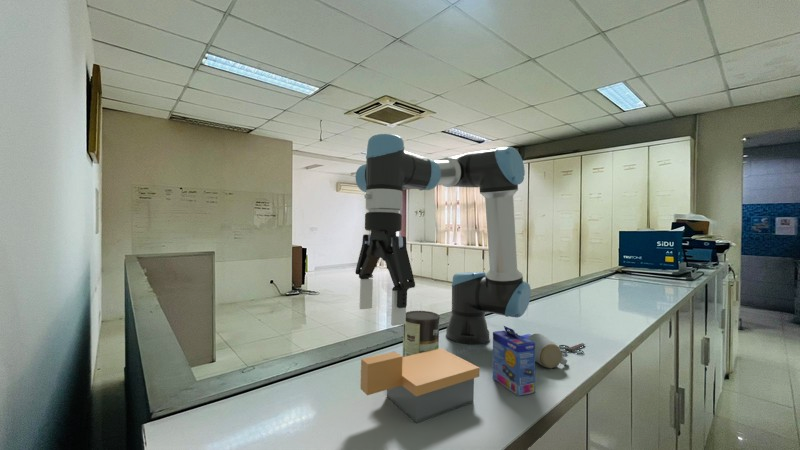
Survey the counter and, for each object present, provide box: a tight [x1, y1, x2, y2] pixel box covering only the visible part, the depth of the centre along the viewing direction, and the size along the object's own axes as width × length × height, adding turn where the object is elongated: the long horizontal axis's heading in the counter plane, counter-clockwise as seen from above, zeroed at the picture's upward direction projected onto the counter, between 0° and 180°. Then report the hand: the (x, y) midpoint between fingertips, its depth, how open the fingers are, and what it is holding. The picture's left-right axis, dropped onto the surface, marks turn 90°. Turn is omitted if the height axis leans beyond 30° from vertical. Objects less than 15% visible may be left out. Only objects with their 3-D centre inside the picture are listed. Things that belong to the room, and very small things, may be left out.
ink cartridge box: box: [492, 325, 536, 397], centre depth 81 cm, size 10×6×14 cm, turn 21°
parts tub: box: [386, 378, 475, 424], centre depth 73 cm, size 16×12×7 cm
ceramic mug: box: [528, 333, 568, 369], centre depth 95 cm, size 11×8×8 cm
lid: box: [360, 347, 480, 396], centre depth 71 cm, size 25×13×6 cm, turn 123°
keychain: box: [558, 343, 586, 357], centre depth 106 cm, size 8×18×2 cm, turn 124°
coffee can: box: [402, 310, 440, 357], centre depth 91 cm, size 10×10×14 cm
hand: (380, 316), depth 66 cm, fingers open, 13 cm apart
